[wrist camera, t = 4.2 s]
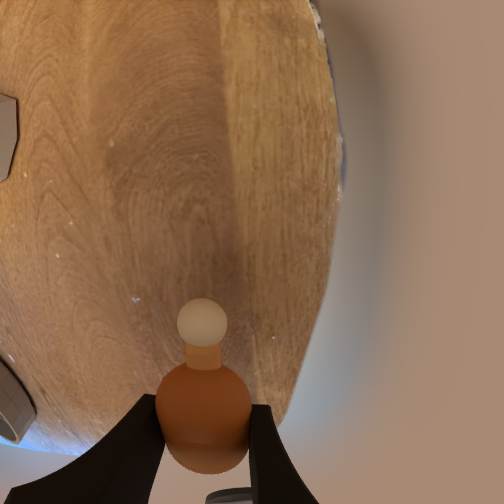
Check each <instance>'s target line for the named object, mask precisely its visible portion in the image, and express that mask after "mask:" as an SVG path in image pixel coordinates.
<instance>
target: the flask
mask: <svg viewBox="0 0 504 504" xmlns="http://www.w3.org/2000/svg"><path fill="white" fill-rule="evenodd" d="M16 140H17V126H16V100H15V99H12V98H10V97H7V96H4V95H2V94H0V182H1V181H3V180H4V179H6V178H7V175H8V171H9V166H10V162H11V158H12V155H13V151H14V147H15V144H16Z"/></svg>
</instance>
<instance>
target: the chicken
mask: <svg viewBox="0 0 504 504" xmlns="http://www.w3.org/2000/svg"><path fill="white" fill-rule="evenodd" d="M177 329H178V332H179V334H180V336H181V337H182V339H183V340H184V341H185V342H184V353H185V361H186V363H184V364H181V365H179V366H177V367H175V368H174V369H173V370H171V371H170V372H169V373H168V374H167V375H166V376H165V377H164V378H163V380H162V382H161V384H160V385H159V387H158V390H157V394H156V399H155V408H156V414H157V418H158V421H159V424H160V427H161V430H162V433H163V436H164V439H165V442H166V445H167V447H168V450H169V451H170V453H171V454H172V456H173V457H174V459H175V460H176V461H177V462H179V463H180V464H181V465H182V466H184V467H185V468H187V469H189V470H191V471H194V472H196V473H201V474H218V473H222V472H226V471H228V470H230V469H232V468H234V467H235V466H237V465H238V464H239V463H240V462H241V461H242V459H243V458H244V457H245V455H246V454H247V451H248V449H249V440H250V421H251V410H252V403H251V396H250V393H249V391H248V389H247V386H246V385H245V383H244V382H243V380H242V379H241V378H240V377H239V376H238V375H237V374H236V373H235V372H234V371H232V370H231V369H229V368H228V367H226V366H224V365H222V364H221V345H220V341H221V340H222V338H223V337H224V335H225V333H226V330H227V318H226V315H225V312H224V311H223V309H222V308H221V307H220V306H219V305H218V304H217V303H216V302H214V301H212V300H209V299H205V298H198V299H194V300H191V301H189V302H187V303H186V304H185V305H184V306H183V307H182V308H181V310H180V312H179V314H178V317H177Z"/></svg>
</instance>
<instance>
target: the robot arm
mask: <svg viewBox="0 0 504 504" xmlns="http://www.w3.org/2000/svg"><path fill="white" fill-rule="evenodd" d="M155 399H156V395H151V394H144V395H143V396H142V397H141V398H140V399H139V400H138V401H137V403H136V404H135V405H134V406H133V407H132V408H131V410H130V411H129V412H128V413H127V414H126V415H125V416H124V417H123V418H122V419H121V420H120V421H119V422H118V423H117V425H116V426H115V427H114V428H113V429H112V430H111V431H110V432H109V433H108V434H106V435H105V436H104V437H103V438H102V439H101V440H100V441H99V442H98V443H96V444H95V445H94V446H93V447H92V448H90V449H89V450H88V451H87V452H85V453H84V454H83V455H81V456H80V457H79V458H77V459H76V460H75V461H73V462H71V463H69V464H68V465H66V466H65V467H63V468H61V469H59V470H58V471H56V472H54V473H51V474H50V475H47V476H45V477H43V478H41V479H38V480H36V481H33V482H30V483H27V484H24V485H21V486H17V487H14V488H12V489H11V490H10V492H9V494H8V496H7V498H6V500H5V502H4V504H148V499H149V496H150V492H151V489H152V485H153V482H154V479H155V476H156V473H157V470H158V467H159V464H160V461H161V457H162V454H163V451H164V448H165V443H166V442H165V439H164V436H163V433H162V430H161V427H160V424H159V421H158V418H157V414H156V408H155ZM249 466H250V478H251V490H252V499H251V500H243V501H233V502H220V503H211V504H319V503H318V501H317V500H316V499H315V498H314V496H313V495H312V494H311V492H310V491H309V489H308V488H307V487H306V485H305V484H304V482H303V481H302V479H301V478H300V476H299V474H298V473H297V471H296V469H295V467H294V466H293V464H292V462H291V460H290V458H289V456H288V454H287V452H286V450H285V448H284V446H283V444H282V442H281V439H280V437H279V434H278V432H277V429H276V426H275V423H274V420H273V416H272V412H271V407H270V406H269V405H259V404H252V410H251V421H250V440H249Z"/></svg>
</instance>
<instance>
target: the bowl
mask: <svg viewBox="0 0 504 504" xmlns="http://www.w3.org/2000/svg"><path fill="white" fill-rule="evenodd" d="M34 420H35V412H34V409H33V407H32V405H31V403H30V400H29V398H28V396H27V394H26V393H25V391H24V389H23V388H22V386H21V385H20V384H19V382H18V381H17V380H16V378H15V377H14V376H13V374H12V373H11V372H10V371H9V370H8V368H7V367H6V366H5V365H4V364H3V363H2V362H1V361H0V436H1V437H3V438H4V439H6V440H8V441H9V442H11V443H14V444H19V443H20V441H21V440H22V438H23V437H24V435H25V433H26V432H27V430H28V429H29V427H30V426H31V424H32V423H33V421H34Z"/></svg>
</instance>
